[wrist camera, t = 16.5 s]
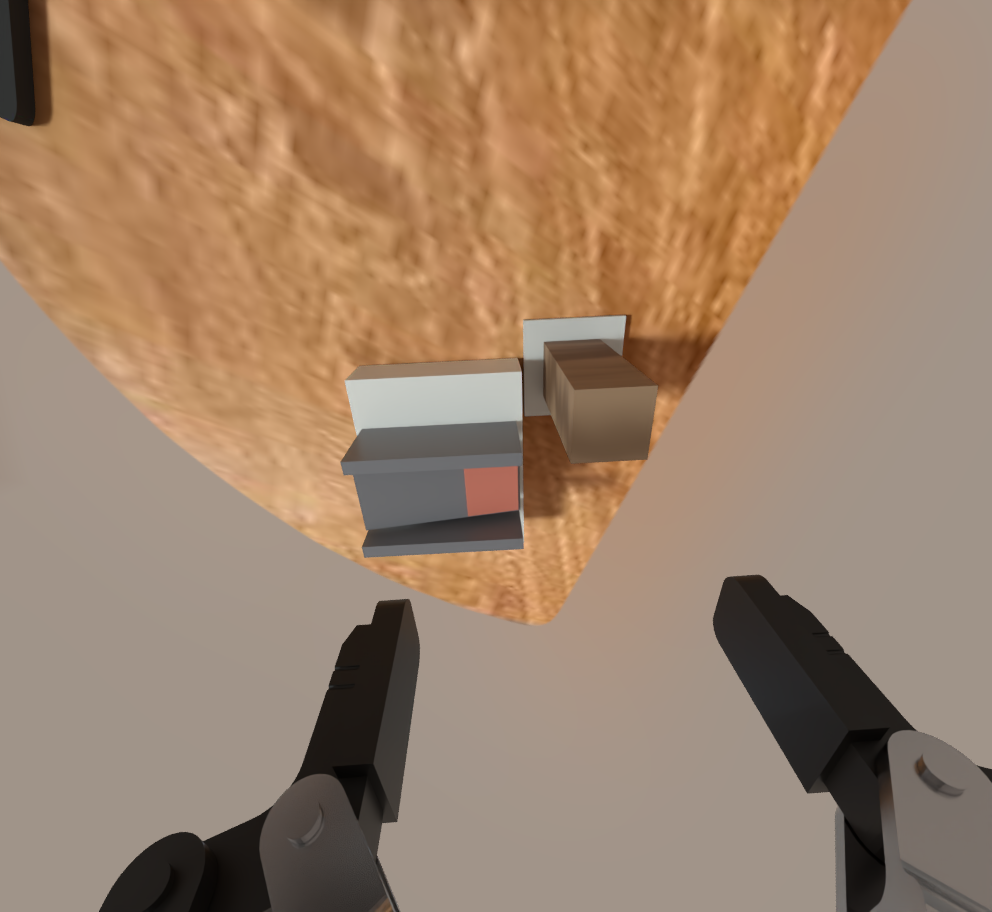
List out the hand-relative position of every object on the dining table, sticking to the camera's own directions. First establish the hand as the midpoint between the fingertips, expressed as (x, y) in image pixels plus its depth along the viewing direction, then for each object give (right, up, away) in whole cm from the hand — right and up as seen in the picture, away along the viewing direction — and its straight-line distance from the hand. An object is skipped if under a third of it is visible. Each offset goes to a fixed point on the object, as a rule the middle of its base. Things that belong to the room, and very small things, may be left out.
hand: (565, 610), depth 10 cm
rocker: (-6, +1, +20) cm, 21 cm away
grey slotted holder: (-6, +5, +27) cm, 28 cm away
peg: (+4, +11, +23) cm, 26 cm away
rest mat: (+4, +11, +23) cm, 26 cm away
